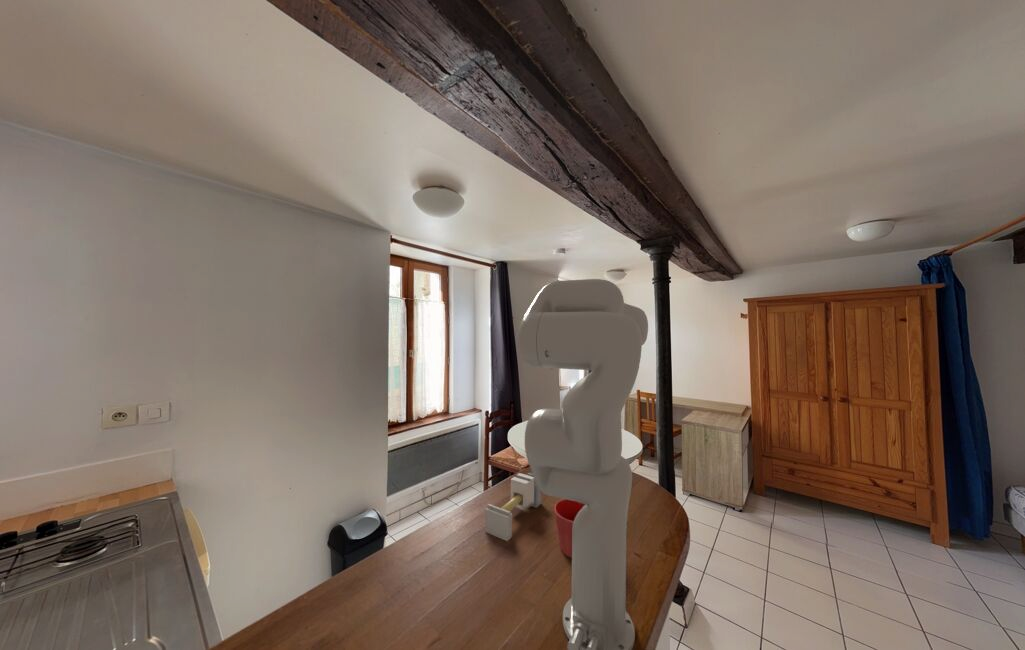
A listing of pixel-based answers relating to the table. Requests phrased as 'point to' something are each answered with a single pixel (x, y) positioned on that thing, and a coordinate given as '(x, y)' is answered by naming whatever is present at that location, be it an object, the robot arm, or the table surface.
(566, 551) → the flower pot
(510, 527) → the rail
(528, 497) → the grooved sliding block
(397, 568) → the table surface
